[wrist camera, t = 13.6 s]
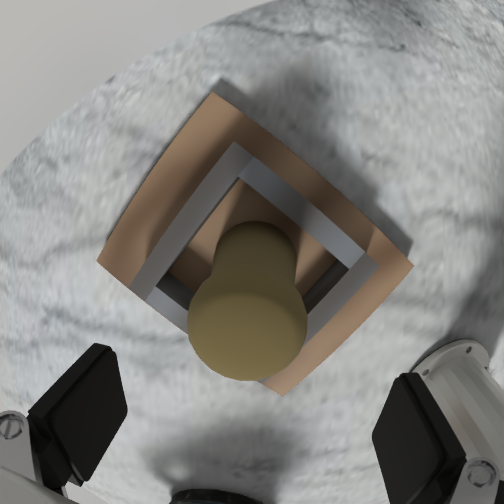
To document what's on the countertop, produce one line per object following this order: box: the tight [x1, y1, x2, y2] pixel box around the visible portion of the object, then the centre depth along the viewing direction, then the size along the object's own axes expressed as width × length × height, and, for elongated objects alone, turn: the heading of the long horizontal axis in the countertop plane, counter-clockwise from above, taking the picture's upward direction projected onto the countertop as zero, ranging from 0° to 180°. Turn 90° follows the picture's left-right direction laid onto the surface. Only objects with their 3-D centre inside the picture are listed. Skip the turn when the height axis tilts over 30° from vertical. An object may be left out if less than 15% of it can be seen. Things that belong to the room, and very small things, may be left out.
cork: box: [187, 221, 308, 381], centre depth 16 cm, size 6×6×11 cm
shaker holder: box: [97, 92, 414, 396], centre depth 21 cm, size 20×16×4 cm
